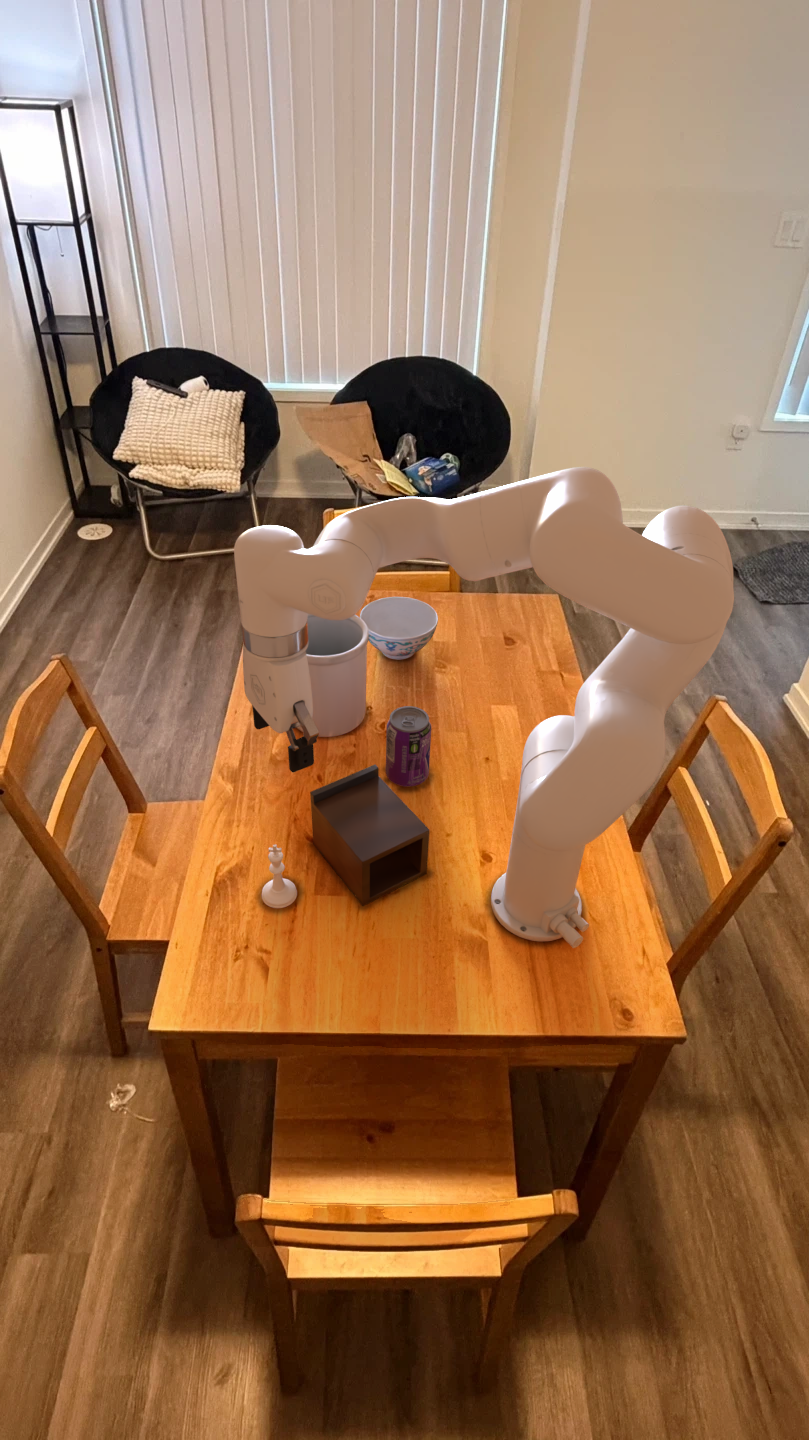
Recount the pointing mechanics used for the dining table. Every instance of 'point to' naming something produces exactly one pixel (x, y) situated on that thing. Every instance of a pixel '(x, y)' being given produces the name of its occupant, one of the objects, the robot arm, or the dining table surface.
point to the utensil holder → (337, 673)
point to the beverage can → (408, 746)
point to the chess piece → (278, 883)
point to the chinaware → (399, 625)
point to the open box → (368, 835)
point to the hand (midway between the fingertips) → (283, 745)
